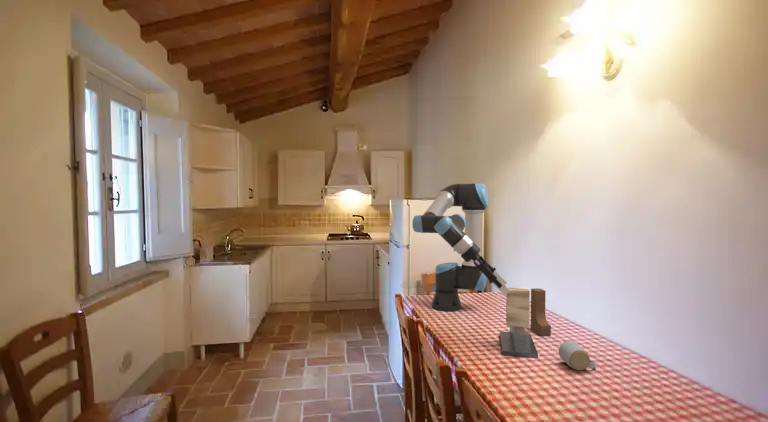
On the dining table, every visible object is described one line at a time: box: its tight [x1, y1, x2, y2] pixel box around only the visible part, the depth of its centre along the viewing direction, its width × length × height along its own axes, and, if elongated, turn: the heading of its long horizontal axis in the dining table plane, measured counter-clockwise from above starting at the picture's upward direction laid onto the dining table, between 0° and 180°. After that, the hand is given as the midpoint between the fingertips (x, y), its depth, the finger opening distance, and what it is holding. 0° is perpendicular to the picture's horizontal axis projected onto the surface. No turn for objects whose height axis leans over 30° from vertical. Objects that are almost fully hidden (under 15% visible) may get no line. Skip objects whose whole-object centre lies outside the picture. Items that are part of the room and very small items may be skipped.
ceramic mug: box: [558, 340, 597, 372], centre depth 133 cm, size 11×8×8 cm
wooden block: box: [530, 287, 552, 337], centre depth 167 cm, size 9×4×18 cm, turn 7°
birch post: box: [505, 286, 531, 329], centre depth 152 cm, size 5×8×14 cm, turn 76°
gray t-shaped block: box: [499, 326, 539, 359], centre depth 152 cm, size 22×12×8 cm, turn 166°
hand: (505, 288), depth 152 cm, fingers open, 13 cm apart
